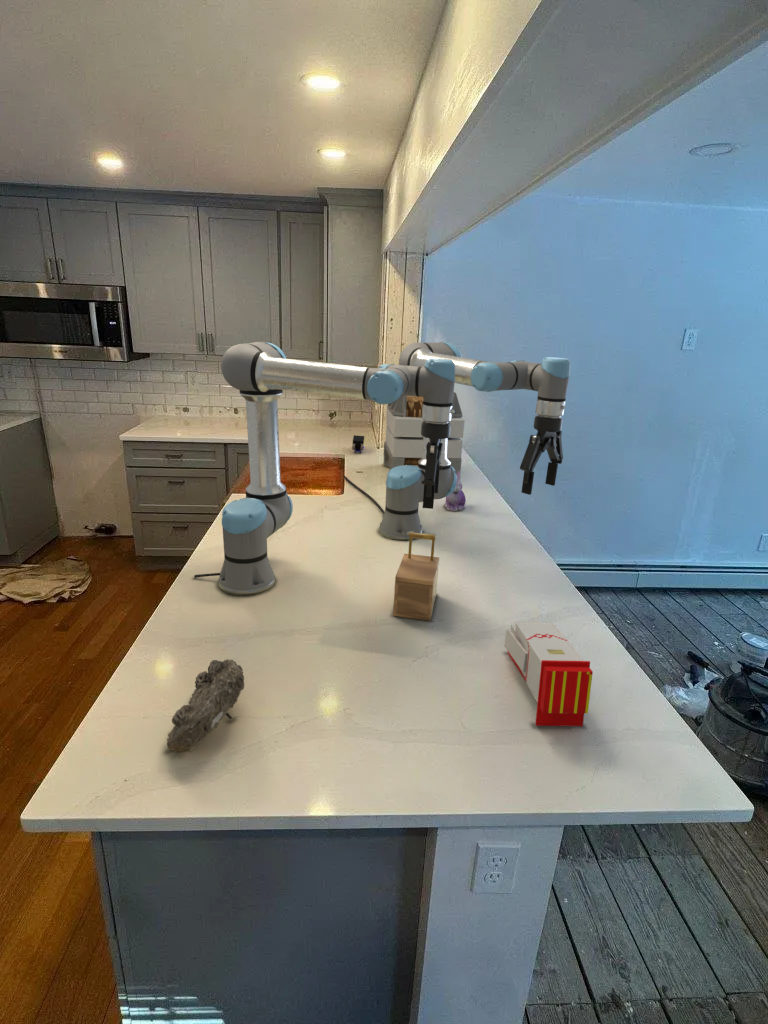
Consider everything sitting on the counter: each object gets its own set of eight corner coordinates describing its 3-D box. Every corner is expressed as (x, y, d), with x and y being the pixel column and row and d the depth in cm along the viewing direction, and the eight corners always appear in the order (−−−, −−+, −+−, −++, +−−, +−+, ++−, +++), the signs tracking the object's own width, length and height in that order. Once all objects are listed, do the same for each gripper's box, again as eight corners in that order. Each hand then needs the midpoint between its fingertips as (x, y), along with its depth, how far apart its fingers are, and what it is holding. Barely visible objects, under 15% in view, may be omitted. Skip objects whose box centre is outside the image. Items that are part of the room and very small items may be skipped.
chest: (401, 590, 160) (403, 558, 157) (436, 594, 158) (438, 562, 155) (393, 615, 147) (395, 581, 143) (430, 620, 145) (433, 586, 142)
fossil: (192, 660, 117) (244, 628, 112) (224, 691, 120) (276, 661, 115) (142, 746, 98) (202, 712, 93) (182, 779, 101) (242, 748, 96)
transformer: (382, 463, 289) (386, 382, 275) (445, 464, 293) (451, 384, 279) (390, 482, 257) (394, 392, 243) (460, 483, 261) (468, 394, 247)
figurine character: (364, 456, 305) (364, 447, 319) (364, 443, 302) (364, 434, 315) (351, 456, 305) (352, 446, 318) (351, 443, 302) (352, 434, 315)
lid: (404, 557, 157) (405, 528, 154) (438, 561, 156) (441, 532, 153) (395, 581, 143) (396, 549, 140) (433, 585, 142) (435, 554, 139)
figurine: (452, 513, 222) (455, 476, 217) (438, 505, 231) (441, 469, 226) (471, 510, 227) (475, 474, 221) (457, 502, 235) (460, 467, 230)
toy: (550, 607, 134) (601, 667, 105) (545, 659, 137) (594, 732, 108) (499, 606, 134) (537, 666, 104) (495, 659, 137) (530, 731, 107)
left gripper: (447, 432, 133) (440, 516, 140) (454, 414, 156) (447, 487, 163) (415, 429, 134) (410, 513, 141) (426, 412, 157) (421, 485, 165)
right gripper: (538, 422, 146) (527, 500, 153) (582, 413, 163) (570, 483, 170) (513, 418, 150) (503, 494, 158) (558, 409, 167) (547, 478, 175)
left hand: (430, 500), depth 152 cm, fingers open, 13 cm apart
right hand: (538, 488), depth 164 cm, fingers open, 13 cm apart
